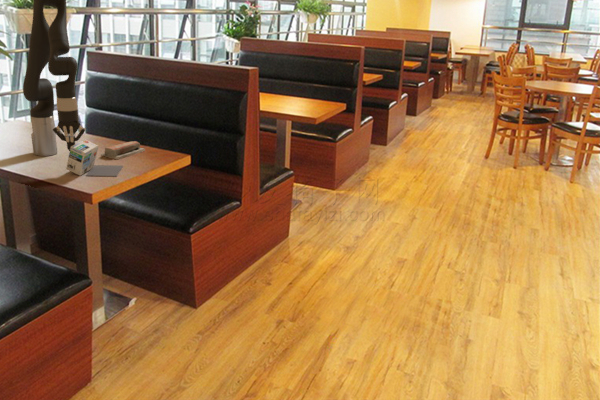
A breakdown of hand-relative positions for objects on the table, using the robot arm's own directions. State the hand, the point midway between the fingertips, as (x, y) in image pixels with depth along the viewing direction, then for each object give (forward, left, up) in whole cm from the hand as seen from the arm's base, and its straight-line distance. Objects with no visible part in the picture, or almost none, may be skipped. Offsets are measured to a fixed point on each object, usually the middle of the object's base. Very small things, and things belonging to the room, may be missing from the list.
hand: (71, 150), depth 228 cm
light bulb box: (+2, +1, -8) cm, 8 cm away
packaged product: (+15, +28, -10) cm, 33 cm away
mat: (+12, +2, -9) cm, 15 cm away
